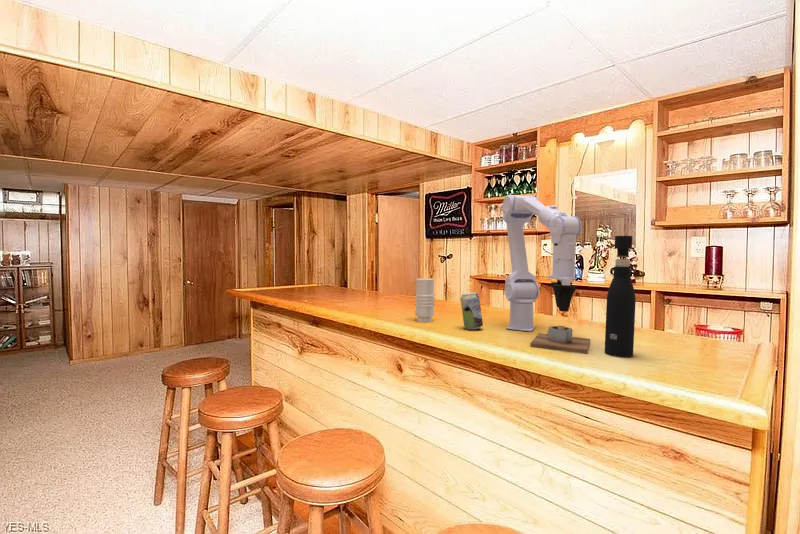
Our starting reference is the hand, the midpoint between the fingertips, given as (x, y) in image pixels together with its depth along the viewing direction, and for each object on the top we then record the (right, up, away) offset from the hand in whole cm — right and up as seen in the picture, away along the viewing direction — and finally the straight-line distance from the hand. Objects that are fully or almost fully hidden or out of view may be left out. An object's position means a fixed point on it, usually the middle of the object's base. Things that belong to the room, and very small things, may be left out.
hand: (562, 309), depth 110 cm
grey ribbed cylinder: (-36, -8, +33) cm, 49 cm away
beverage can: (-22, -9, +20) cm, 30 cm away
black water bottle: (+11, -11, -9) cm, 18 cm away
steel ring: (0, -9, 0) cm, 9 cm away
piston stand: (0, -10, 0) cm, 10 cm away
